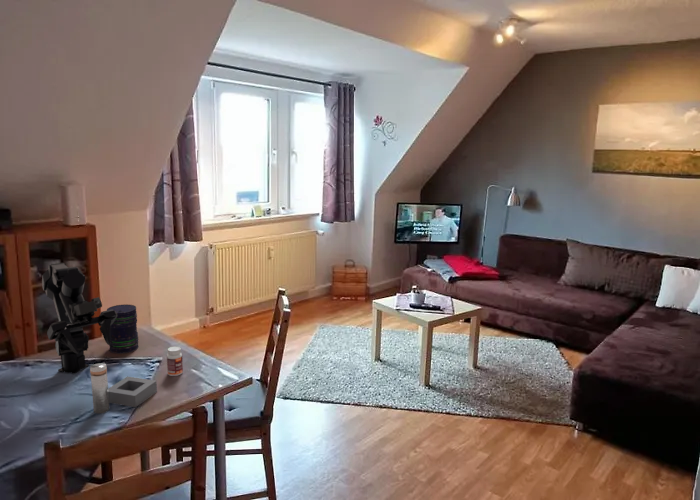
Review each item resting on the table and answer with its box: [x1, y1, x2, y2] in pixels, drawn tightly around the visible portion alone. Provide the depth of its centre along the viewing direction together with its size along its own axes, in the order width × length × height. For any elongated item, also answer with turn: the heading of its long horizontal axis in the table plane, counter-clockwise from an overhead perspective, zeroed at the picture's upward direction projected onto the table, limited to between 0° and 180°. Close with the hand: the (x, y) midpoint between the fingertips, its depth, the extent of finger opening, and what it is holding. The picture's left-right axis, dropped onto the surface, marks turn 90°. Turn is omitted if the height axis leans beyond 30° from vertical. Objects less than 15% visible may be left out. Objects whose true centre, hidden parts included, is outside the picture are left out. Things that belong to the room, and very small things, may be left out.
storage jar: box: [106, 303, 140, 354], centre depth 190 cm, size 10×10×15 cm
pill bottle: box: [166, 346, 184, 377], centre depth 171 cm, size 5×5×8 cm
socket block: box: [108, 375, 158, 408], centre depth 155 cm, size 10×10×4 cm
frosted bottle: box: [89, 362, 110, 415], centre depth 147 cm, size 4×4×13 cm
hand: (93, 348), depth 157 cm, fingers open, 9 cm apart
